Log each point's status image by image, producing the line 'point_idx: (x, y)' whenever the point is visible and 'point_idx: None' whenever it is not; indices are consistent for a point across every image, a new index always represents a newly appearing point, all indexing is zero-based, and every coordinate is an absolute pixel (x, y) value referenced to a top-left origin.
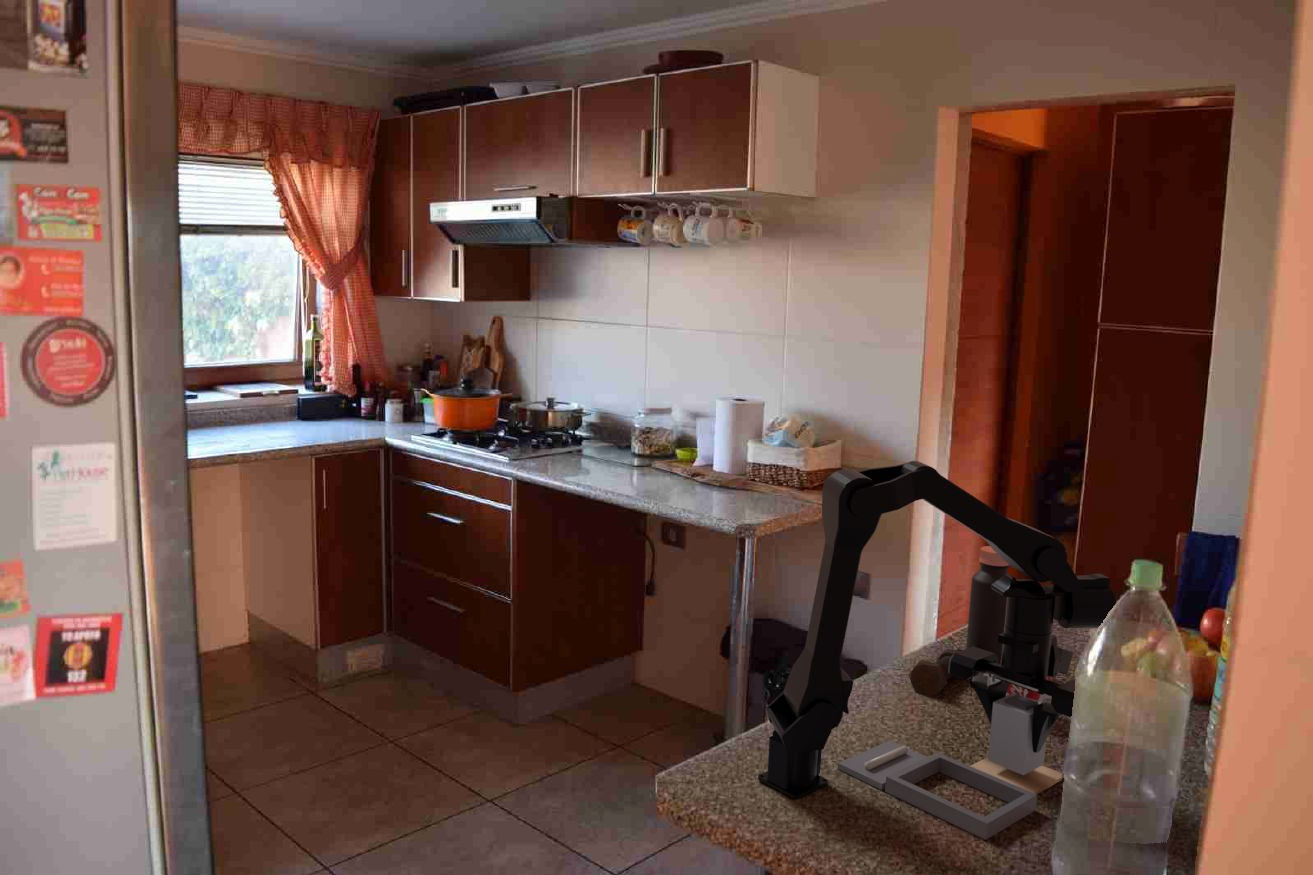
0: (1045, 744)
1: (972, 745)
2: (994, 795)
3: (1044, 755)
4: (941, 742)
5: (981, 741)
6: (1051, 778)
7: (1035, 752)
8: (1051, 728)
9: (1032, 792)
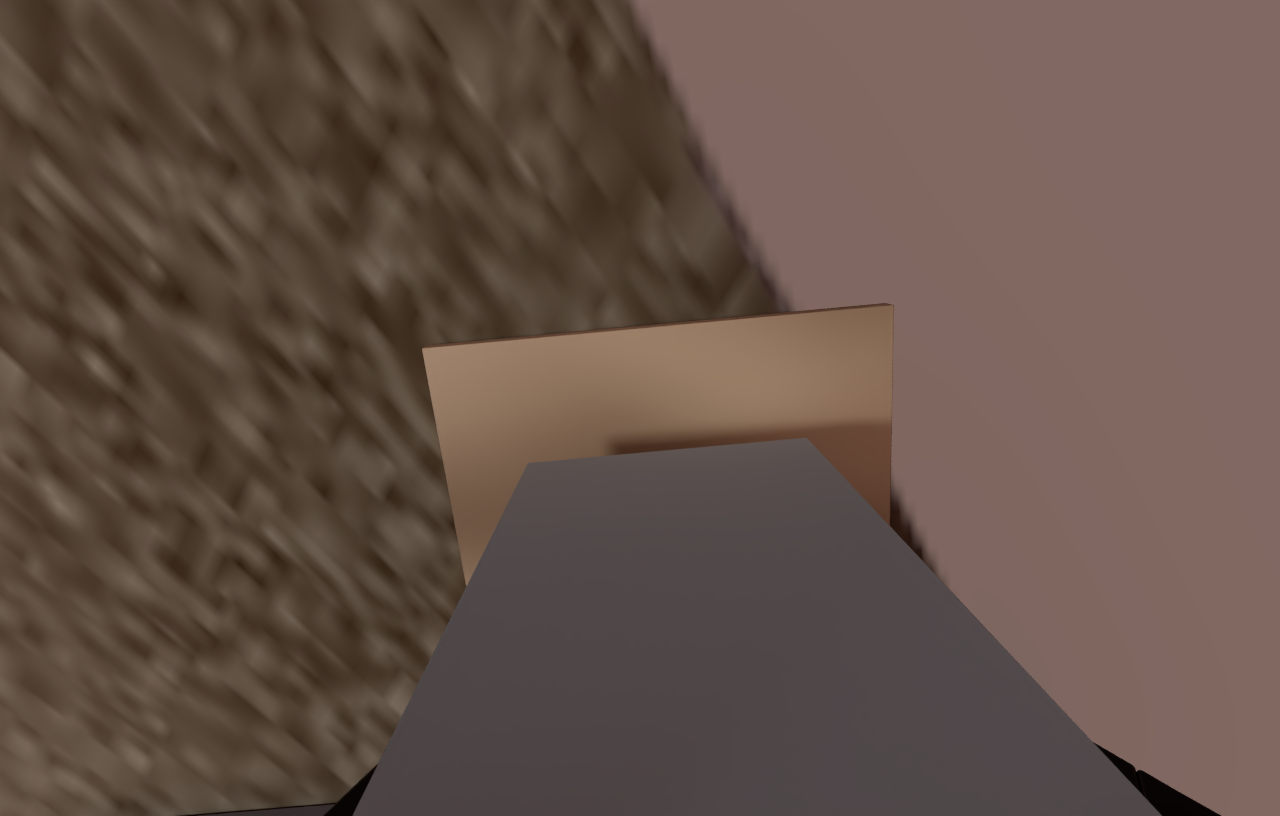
0: (866, 505)
1: (259, 427)
2: None
3: (827, 461)
4: (147, 558)
5: (233, 321)
6: (860, 433)
7: None
8: (1134, 773)
9: None
